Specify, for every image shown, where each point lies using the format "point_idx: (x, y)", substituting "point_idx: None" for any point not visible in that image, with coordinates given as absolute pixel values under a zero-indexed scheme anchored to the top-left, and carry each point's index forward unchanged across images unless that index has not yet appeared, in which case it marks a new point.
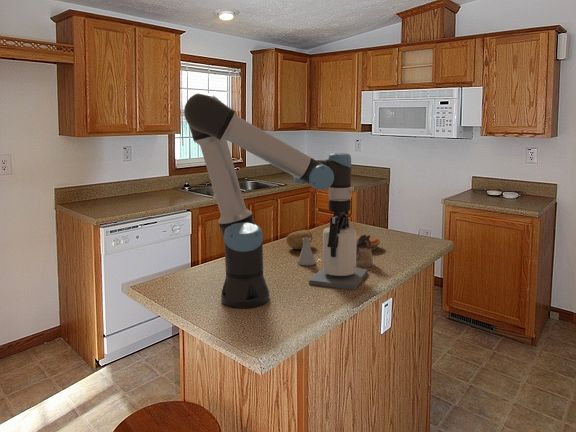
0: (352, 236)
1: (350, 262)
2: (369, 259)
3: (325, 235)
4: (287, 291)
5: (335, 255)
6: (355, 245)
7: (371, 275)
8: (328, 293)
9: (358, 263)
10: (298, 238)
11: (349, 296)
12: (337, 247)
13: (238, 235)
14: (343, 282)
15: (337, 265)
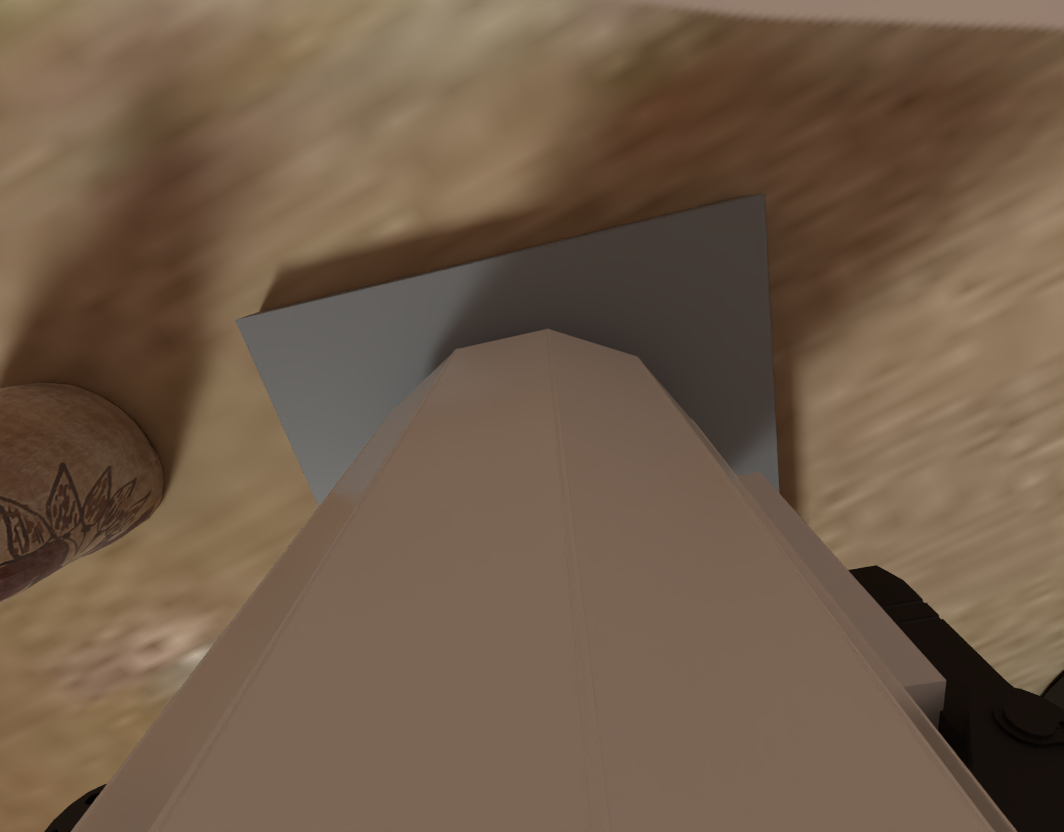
0: (712, 775)
1: (616, 386)
2: (13, 412)
3: None
4: (963, 607)
5: (869, 585)
6: (441, 495)
7: (277, 253)
8: (912, 357)
9: (141, 479)
10: None
11: (929, 154)
12: (934, 690)
13: None
14: (719, 338)
15: (764, 478)
